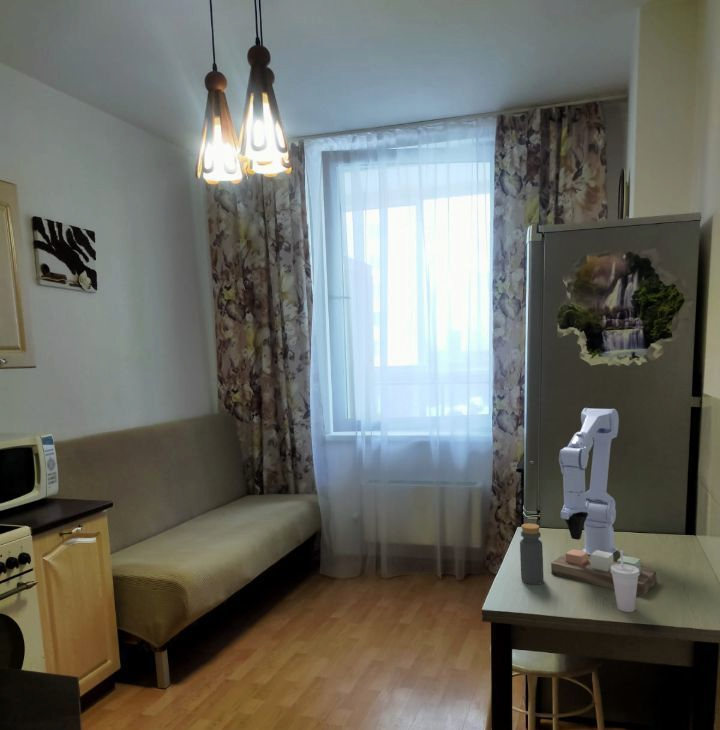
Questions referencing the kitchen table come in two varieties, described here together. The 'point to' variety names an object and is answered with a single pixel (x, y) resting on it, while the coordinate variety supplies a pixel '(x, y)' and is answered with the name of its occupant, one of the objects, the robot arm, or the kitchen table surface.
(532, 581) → the bottle
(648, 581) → the brown wooden tray
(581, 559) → the salmon cube
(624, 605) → the smoothie
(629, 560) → the green cube
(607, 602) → the kitchen table surface
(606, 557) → the white cube
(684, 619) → the kitchen table surface
